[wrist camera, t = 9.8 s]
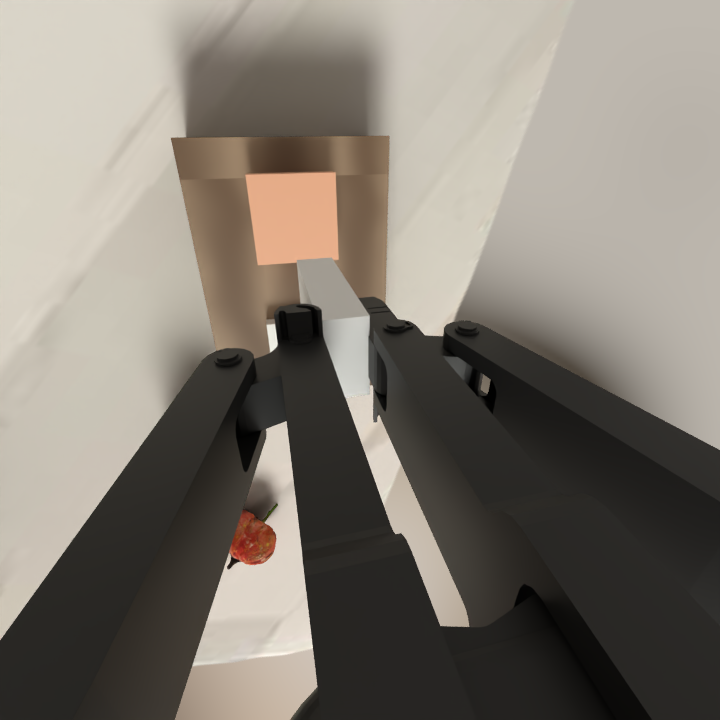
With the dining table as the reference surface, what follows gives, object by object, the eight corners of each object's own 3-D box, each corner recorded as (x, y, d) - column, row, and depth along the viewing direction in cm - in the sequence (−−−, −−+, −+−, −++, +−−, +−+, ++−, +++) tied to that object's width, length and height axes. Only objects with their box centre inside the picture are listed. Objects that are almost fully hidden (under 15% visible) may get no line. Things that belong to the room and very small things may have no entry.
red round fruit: (253, 479, 56) (196, 538, 51) (287, 503, 52) (229, 569, 47) (271, 507, 61) (220, 563, 56) (303, 531, 57) (252, 594, 51)
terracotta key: (257, 242, 37) (257, 265, 31) (247, 167, 34) (245, 174, 27) (324, 238, 39) (338, 259, 32) (320, 166, 35) (335, 172, 29)
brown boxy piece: (231, 369, 45) (227, 404, 39) (186, 137, 33) (170, 137, 28) (367, 353, 48) (383, 383, 42) (367, 136, 37) (389, 135, 31)
